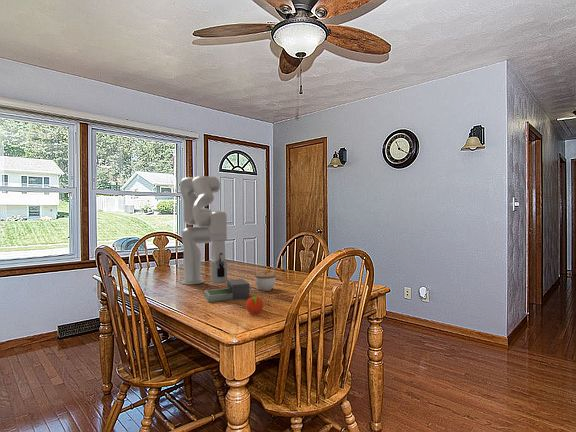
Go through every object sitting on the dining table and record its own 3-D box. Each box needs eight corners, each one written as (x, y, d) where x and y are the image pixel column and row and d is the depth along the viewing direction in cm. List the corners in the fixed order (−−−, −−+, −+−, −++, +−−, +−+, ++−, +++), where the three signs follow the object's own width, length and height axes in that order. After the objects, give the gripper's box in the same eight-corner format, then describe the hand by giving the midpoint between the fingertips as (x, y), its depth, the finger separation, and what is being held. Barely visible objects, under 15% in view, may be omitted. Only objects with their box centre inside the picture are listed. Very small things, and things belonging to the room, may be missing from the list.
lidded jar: (277, 287, 193) (277, 269, 193) (274, 291, 182) (274, 273, 182) (257, 286, 194) (257, 269, 194) (253, 291, 183) (253, 273, 183)
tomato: (264, 316, 141) (264, 298, 141) (247, 317, 140) (246, 299, 140) (261, 310, 149) (261, 293, 149) (245, 311, 148) (244, 294, 147)
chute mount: (204, 296, 173) (204, 282, 173) (242, 292, 181) (242, 278, 180) (208, 302, 162) (208, 287, 162) (249, 298, 169) (249, 283, 169)
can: (223, 284, 165) (223, 258, 165) (208, 283, 167) (208, 257, 167) (229, 281, 173) (229, 256, 173) (214, 280, 174) (214, 255, 174)
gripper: (207, 237, 176) (207, 273, 176) (214, 239, 160) (214, 279, 160) (222, 236, 179) (223, 271, 179) (230, 238, 163) (231, 277, 163)
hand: (219, 275), depth 170 cm, fingers closed on can, 7 cm apart
